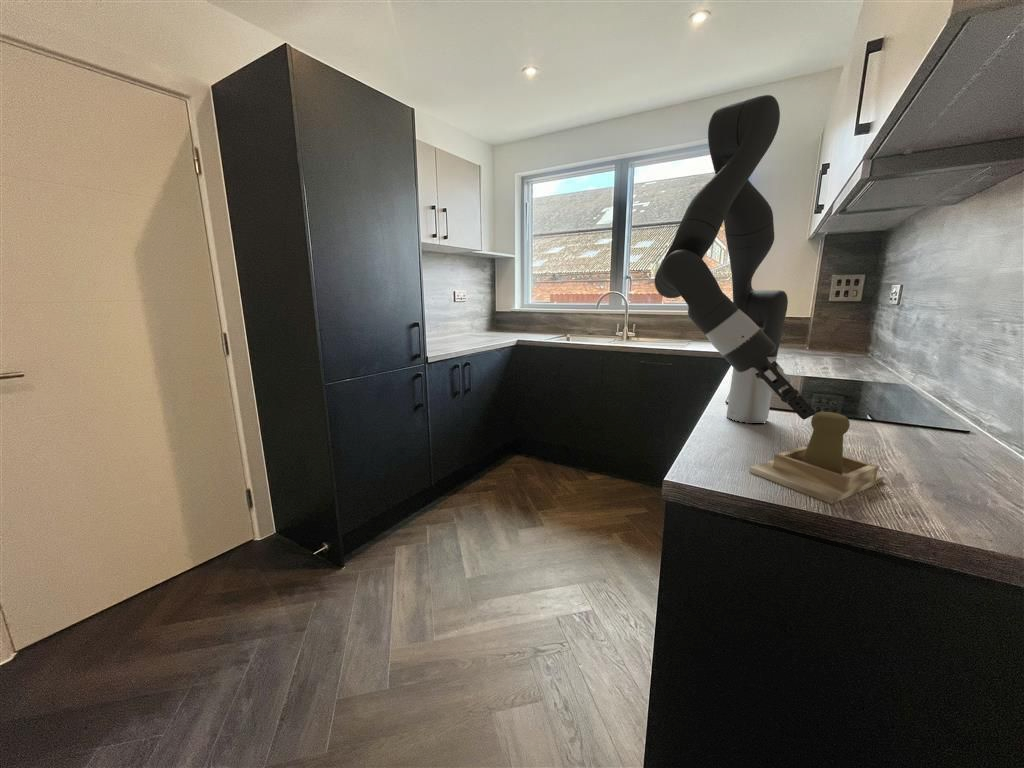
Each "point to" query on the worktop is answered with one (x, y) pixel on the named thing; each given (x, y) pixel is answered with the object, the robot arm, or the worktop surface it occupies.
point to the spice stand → (818, 475)
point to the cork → (827, 441)
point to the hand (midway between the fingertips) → (804, 410)
